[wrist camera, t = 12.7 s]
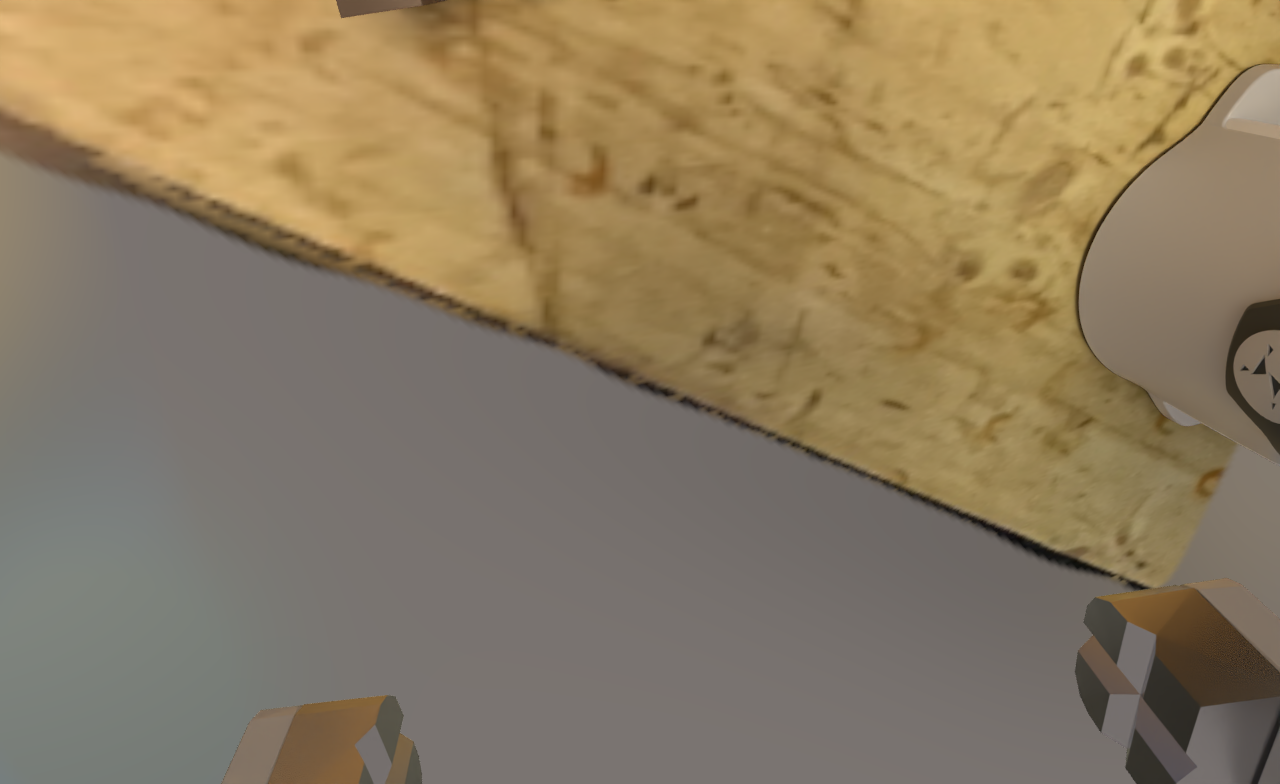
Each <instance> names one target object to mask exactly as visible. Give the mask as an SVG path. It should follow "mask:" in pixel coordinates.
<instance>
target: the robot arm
mask: <svg viewBox="0 0 1280 784" xmlns="http://www.w3.org/2000/svg"><path fill="white" fill-rule="evenodd" d="M1079 314H1080V321H1081V326H1082V330H1083V333H1084V336H1085V338H1086V340H1087V343H1088V345H1089V346H1090V348H1091V350H1092V351H1093V353H1094V354H1095V356H1096V357H1097V358H1098V359H1099V360H1100V361H1101V363H1102V364H1104V365H1105V366H1106V367H1107V368H1108V369H1109V370H1111V371H1112V372H1114V373H1115V374H1117V375H1118V376H1120V377H1122V378H1124V379H1126V380H1129V381H1131V382H1133V383H1135V384H1137V385H1139V386H1140V387H1142V388H1144V389H1145V390H1146V391H1147V392H1148V393H1149V395H1150V397H1151V399H1152V400H1153V402H1154V404H1155V405H1156V407H1157V408H1158V409H1159V411H1160V412H1161V413H1162V414H1163V415H1164V416H1165V417H1167V418H1168V419H1170V420H1172V421H1174V422H1176V423H1177V424H1179V425H1182V426H1193V425H1197V424H1200V423H1202V424H1204V425H1206V426H1207V427H1209V428H1211V429H1213V430H1214V431H1216V432H1218V433H1220V434H1222V435H1223V436H1225V437H1227V438H1229V439H1230V440H1232V441H1234V442H1236V443H1238V444H1240V445H1241V446H1243V447H1245V448H1247V449H1249V450H1250V451H1252V452H1254V453H1256V454H1258V455H1260V456H1262V457H1263V458H1265V459H1267V460H1269V461H1271V462H1272V463H1274V464H1276V465H1278V466H1280V65H1276V64H1262V65H1257V66H1255V67H1252V68H1250V69H1249V70H1247V71H1246V72H1244V73H1243V74H1242V75H1241V76H1240V77H1239V78H1237V79H1236V81H1235V82H1234V83H1233V84H1232V85H1231V86H1230V87H1229V88H1228V90H1227V91H1226V92H1225V93H1224V95H1223V96H1222V97H1221V98H1220V100H1219V101H1218V102H1217V104H1216V105H1215V106H1214V108H1213V109H1212V110H1211V112H1210V113H1209V115H1208V116H1207V117H1206V119H1205V120H1204V121H1203V123H1202V124H1201V125H1200V126H1199V127H1198V128H1197V129H1196V130H1195V131H1194V132H1193V133H1191V134H1190V135H1189V136H1188V137H1187V138H1185V139H1184V140H1183V141H1182V142H1180V143H1179V144H1177V145H1176V146H1175V147H1173V148H1172V149H1171V150H1169V151H1168V152H1167V153H1166V154H1164V155H1163V156H1162V157H1160V158H1159V159H1158V160H1157V161H1155V162H1154V163H1153V164H1152V165H1151V166H1150V167H1148V168H1147V169H1146V170H1145V171H1144V172H1143V173H1142V174H1141V175H1140V176H1139V177H1138V178H1137V179H1136V180H1135V181H1134V182H1133V183H1132V184H1131V185H1130V186H1129V188H1128V189H1127V190H1126V191H1125V192H1124V193H1123V195H1122V196H1121V197H1120V198H1119V200H1118V201H1117V202H1116V204H1115V205H1114V206H1113V208H1112V209H1111V211H1110V212H1109V214H1108V215H1107V217H1106V218H1105V220H1104V222H1103V223H1102V225H1101V227H1100V229H1099V231H1098V232H1097V234H1096V236H1095V239H1094V241H1093V243H1092V245H1091V248H1090V250H1089V253H1088V255H1087V258H1086V261H1085V264H1084V268H1083V272H1082V277H1081V282H1080V290H1079ZM1084 624H1085V625H1086V626H1087V628H1088V629H1089V630H1090V631H1091V633H1092V634H1093V636H1092V637H1091V638H1090V639H1089V640H1088V641H1087V642H1086V643H1085V644H1084V645H1083V646H1082V647H1081V648H1080V649H1079V650H1078V653H1077V660H1076V667H1075V675H1076V680H1077V684H1078V689H1079V694H1080V697H1081V699H1082V701H1083V703H1084V706H1085V708H1086V710H1087V712H1088V714H1089V716H1090V717H1091V718H1092V720H1093V721H1094V723H1095V725H1096V726H1097V727H1098V729H1099V731H1100V732H1101V733H1102V734H1104V735H1105V736H1107V737H1109V738H1110V739H1112V740H1114V741H1115V742H1117V743H1118V744H1120V745H1122V746H1123V747H1125V748H1127V752H1126V765H1125V768H1126V770H1127V771H1128V773H1129V774H1130V775H1131V777H1132V778H1133V780H1134V781H1135V783H1136V784H1280V619H1279V618H1278V617H1277V616H1276V615H1275V614H1274V613H1273V612H1271V610H1269V609H1268V608H1267V607H1266V606H1265V605H1264V604H1263V603H1262V602H1260V601H1259V600H1258V599H1257V598H1256V597H1255V596H1254V595H1253V594H1251V592H1250V591H1248V590H1247V589H1246V588H1245V587H1244V586H1243V585H1241V584H1240V583H1237V582H1235V581H1233V580H1230V579H1228V578H1224V579H1217V580H1211V581H1203V582H1196V583H1190V584H1183V585H1180V586H1176V585H1173V586H1167V587H1160V588H1153V589H1147V590H1140V591H1133V592H1126V593H1120V594H1113V595H1106V596H1100V597H1095V598H1094V599H1093V600H1092V601H1091V602H1090V603H1089V604H1088V606H1087V609H1086V614H1085V618H1084ZM403 716H404V715H403V713H402V711H401V708H400V706H399V704H398V701H397V699H396V697H395V696H390V695H385V696H376V697H367V698H358V699H349V700H341V701H331V702H322V703H312V704H304V705H301V706H292V707H283V708H274V709H266V710H261V711H260V712H259V713H258V714H257V715H256V716H255V717H254V718H253V719H252V720H251V721H250V722H249V724H248V726H247V728H246V730H245V733H244V735H243V737H242V739H241V741H240V744H239V746H238V748H237V750H236V752H235V754H234V757H233V759H232V761H231V763H230V765H229V767H228V770H227V772H226V774H225V776H224V778H223V781H222V783H221V784H422V772H421V766H420V760H419V755H418V753H417V750H416V747H415V744H414V742H413V741H412V740H410V739H409V738H407V737H405V736H404V735H402V734H400V729H401V725H402V721H403Z"/></svg>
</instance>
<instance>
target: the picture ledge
mask: <svg viewBox="0 0 1280 784" xmlns="http://www.w3.org/2000/svg"><path fill="white" fill-rule="evenodd" d="M336 1H337V5H338V8H339V12H340V15H341V18H344V17H351V16H357V15H364V14H370V13H377V12H383V11H390V10H396V9H403V8H409V7H416V6H422V5H427V4H431V3H436V2H441V1H445V0H336Z"/></svg>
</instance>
